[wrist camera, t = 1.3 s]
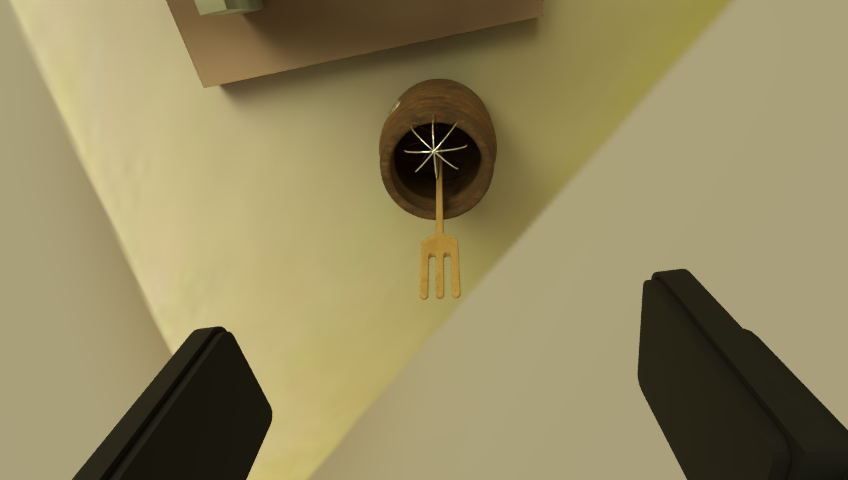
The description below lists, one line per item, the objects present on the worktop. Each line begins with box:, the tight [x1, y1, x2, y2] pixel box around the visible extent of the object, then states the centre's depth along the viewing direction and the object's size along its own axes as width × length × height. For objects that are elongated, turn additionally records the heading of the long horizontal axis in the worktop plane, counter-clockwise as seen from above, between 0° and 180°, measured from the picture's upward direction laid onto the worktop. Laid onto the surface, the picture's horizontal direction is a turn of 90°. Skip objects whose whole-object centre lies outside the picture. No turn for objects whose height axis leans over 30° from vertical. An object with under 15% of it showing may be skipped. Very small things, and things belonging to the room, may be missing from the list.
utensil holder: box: [379, 79, 497, 300], centre depth 19 cm, size 6×6×12 cm
